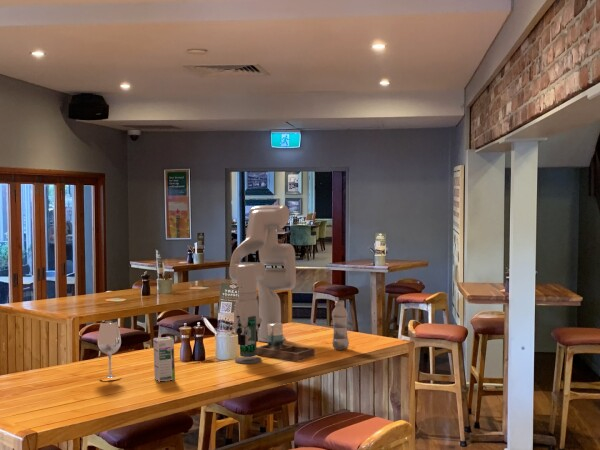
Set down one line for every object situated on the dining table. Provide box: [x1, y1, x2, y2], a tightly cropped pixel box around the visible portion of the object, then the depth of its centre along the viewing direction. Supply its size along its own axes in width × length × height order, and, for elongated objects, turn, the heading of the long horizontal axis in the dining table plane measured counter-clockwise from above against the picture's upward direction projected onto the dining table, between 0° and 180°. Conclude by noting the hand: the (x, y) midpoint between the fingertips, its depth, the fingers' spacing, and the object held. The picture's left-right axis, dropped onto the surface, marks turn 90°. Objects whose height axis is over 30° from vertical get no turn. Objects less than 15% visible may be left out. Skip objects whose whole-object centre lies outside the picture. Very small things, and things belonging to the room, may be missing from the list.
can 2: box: [267, 322, 284, 350], centre depth 271 cm, size 6×6×12 cm
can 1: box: [239, 316, 258, 357], centre depth 260 cm, size 6×6×15 cm
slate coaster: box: [234, 356, 262, 365], centre depth 260 cm, size 10×10×1 cm
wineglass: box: [97, 320, 122, 378], centre depth 237 cm, size 8×8×20 cm
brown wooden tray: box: [256, 343, 316, 363], centre depth 268 cm, size 21×11×3 cm, turn 52°
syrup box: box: [152, 336, 176, 383], centre depth 234 cm, size 6×6×14 cm
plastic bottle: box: [331, 299, 350, 351], centre depth 277 cm, size 6×7×20 cm
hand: (248, 342), depth 260 cm, fingers closed on can 1, 6 cm apart
